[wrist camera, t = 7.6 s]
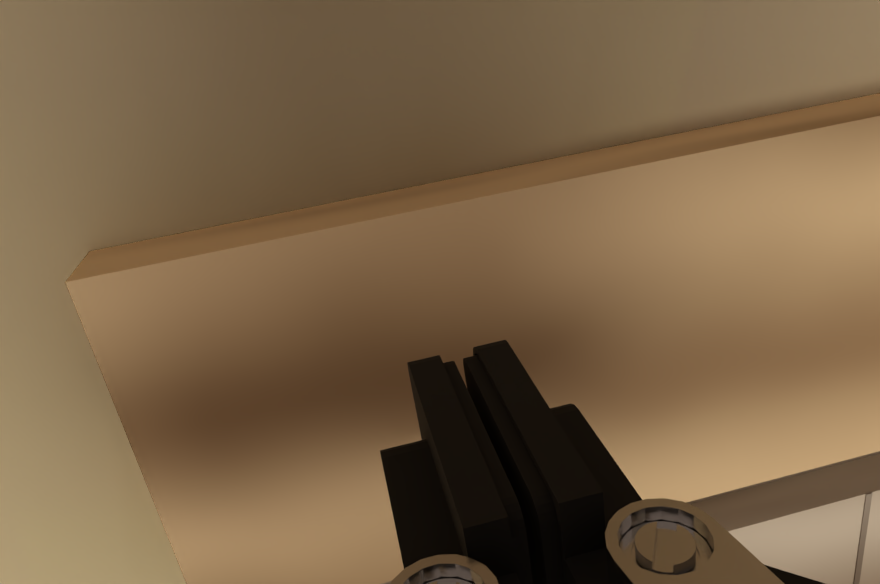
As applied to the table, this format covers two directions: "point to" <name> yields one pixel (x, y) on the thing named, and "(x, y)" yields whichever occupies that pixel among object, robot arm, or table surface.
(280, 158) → the table surface
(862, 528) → the floor row
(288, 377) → the board
